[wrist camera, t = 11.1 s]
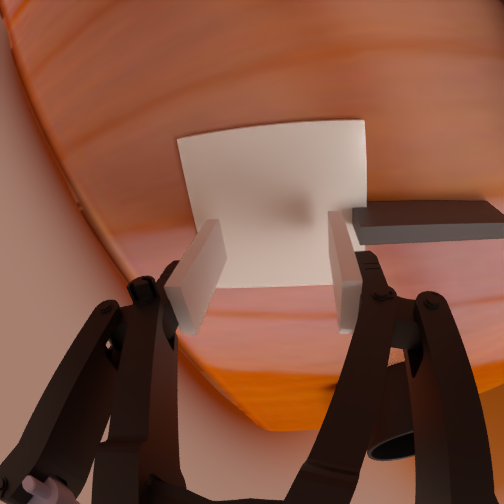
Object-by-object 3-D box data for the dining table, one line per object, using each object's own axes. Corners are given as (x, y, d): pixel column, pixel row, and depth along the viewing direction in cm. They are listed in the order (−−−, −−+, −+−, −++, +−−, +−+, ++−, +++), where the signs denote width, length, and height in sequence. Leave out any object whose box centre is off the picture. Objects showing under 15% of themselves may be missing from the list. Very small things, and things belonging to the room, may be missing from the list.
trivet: (182, 136, 19) (176, 139, 18) (361, 119, 16) (364, 120, 15) (214, 281, 24) (211, 288, 24) (360, 275, 22) (362, 282, 21)
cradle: (349, 202, 19) (402, 347, 8) (509, 201, 16) (606, 295, 5) (336, 392, 31) (336, 493, 20) (447, 377, 28) (469, 466, 17)
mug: (362, 414, 34) (366, 471, 26) (361, 367, 28) (368, 440, 21) (425, 401, 31) (436, 455, 24) (439, 349, 26) (461, 416, 18)
